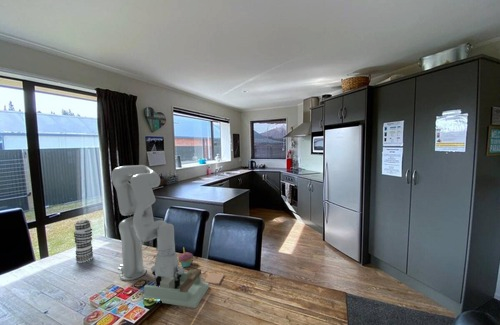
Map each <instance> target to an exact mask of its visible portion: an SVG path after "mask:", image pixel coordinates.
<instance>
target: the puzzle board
mask: <svg viewBox="0 0 500 325" xmlns="http://www.w3.org/2000/svg"><path fill="white" fill-rule="evenodd" d="M187 272H188V271H184V273H183V275H182V276H181V277H180V285H179V286H178V288H177V289H173V288H166V287H158V286H156V282H155V283H154V284H153V285H149V284H145V285H144V286H143V289H144V290H143V291H144V293H143V294H142V299H143V298H154V299H160V300H161V301H162V304H167V305H168V304H169V305H174V306H175V305H176V306H179V307H180V306H181V307H187V308H194V309H196V308H197V307H198V305H199V304H200V302H201V300H202V299H203V297H204V296H205V295H206V292H208V289H209V288H210V283H205V282H204V281H202V273H201V274H200V276H199V277H198V278H197V279H196V281H195V282H194V283H193V285H192V286H191V287H190V289H189V290H188V291H187V292H180V287H181V285H182V284H183V283H184V282H185V281H186V279H187ZM178 273H179V274H180V272H179V271H178ZM175 275H176V274H175ZM176 276H177V275H176ZM177 277H178V276H177ZM161 278H162V280H163V279H164V278H165V277H161ZM174 281H175V279H174Z"/></svg>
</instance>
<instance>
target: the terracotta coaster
mask: <svg viewBox="0 0 500 325" xmlns="http://www.w3.org/2000/svg"><path fill="white" fill-rule="evenodd" d="M224 277H225V274H224V273H215V272H210V273H209V274H208V275H207V276H206V278H205V280H203V282H205V283H209V284H214V285H216V286H217V285H218V286H219V285H220V284H221V282H222V280H223V278H224Z"/></svg>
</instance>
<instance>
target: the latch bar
mask: <svg viewBox="0 0 500 325" xmlns="http://www.w3.org/2000/svg"><path fill="white" fill-rule="evenodd" d="M186 272H187V279H186V281H185V282H184V283H183V284H182V285H181V287H180V292H187V291H188V290H189V289H190V287H191V286H192V285H193V283H194V282H195V281H196V279H197V278H198V277H199V276H200V274H201V275H202V269H201V268H195V269H189V270H188V271H186Z"/></svg>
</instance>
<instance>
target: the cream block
mask: <svg viewBox="0 0 500 325" xmlns="http://www.w3.org/2000/svg"><path fill="white" fill-rule="evenodd" d="M160 287H166V288H173V289H175V284H174V277H165V278H164V279H163V280H162V281H161V282H160Z"/></svg>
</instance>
